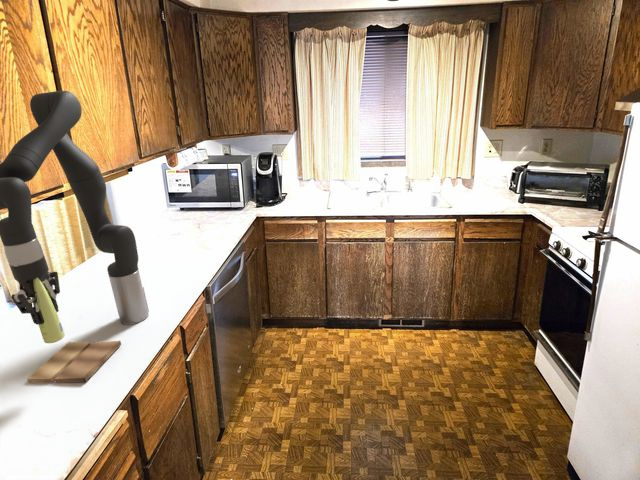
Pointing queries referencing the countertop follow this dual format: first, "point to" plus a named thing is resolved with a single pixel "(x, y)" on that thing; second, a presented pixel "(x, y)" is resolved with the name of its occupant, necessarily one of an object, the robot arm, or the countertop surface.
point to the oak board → (58, 362)
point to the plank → (88, 362)
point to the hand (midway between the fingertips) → (47, 317)
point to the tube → (48, 315)
